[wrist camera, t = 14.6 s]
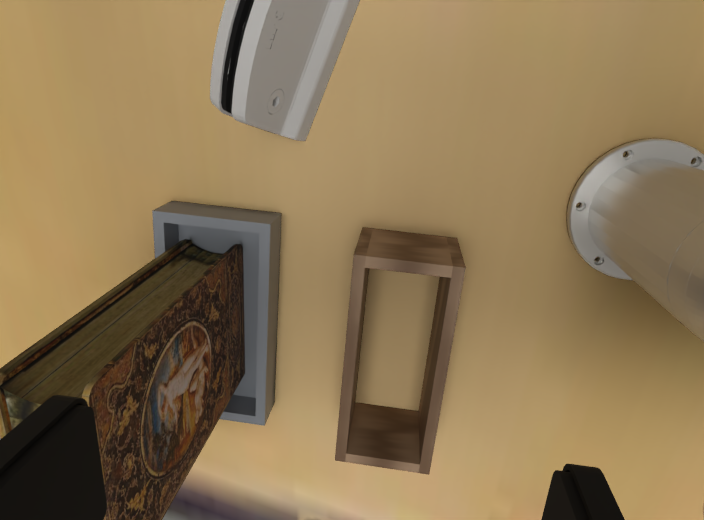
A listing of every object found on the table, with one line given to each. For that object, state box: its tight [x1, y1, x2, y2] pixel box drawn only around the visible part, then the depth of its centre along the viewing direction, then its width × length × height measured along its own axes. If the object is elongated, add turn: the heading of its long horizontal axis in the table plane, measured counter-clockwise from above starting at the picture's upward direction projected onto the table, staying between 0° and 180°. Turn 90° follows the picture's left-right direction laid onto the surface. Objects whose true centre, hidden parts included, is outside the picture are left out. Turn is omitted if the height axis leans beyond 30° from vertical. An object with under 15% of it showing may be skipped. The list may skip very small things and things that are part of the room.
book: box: [0, 239, 245, 520], centre depth 40 cm, size 16×6×25 cm, turn 176°
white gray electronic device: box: [210, 0, 360, 141], centre depth 39 cm, size 17×5×10 cm, turn 156°
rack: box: [335, 227, 466, 474], centre depth 47 cm, size 9×21×8 cm, turn 175°
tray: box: [153, 201, 281, 426], centre depth 51 cm, size 11×22×4 cm, turn 175°
